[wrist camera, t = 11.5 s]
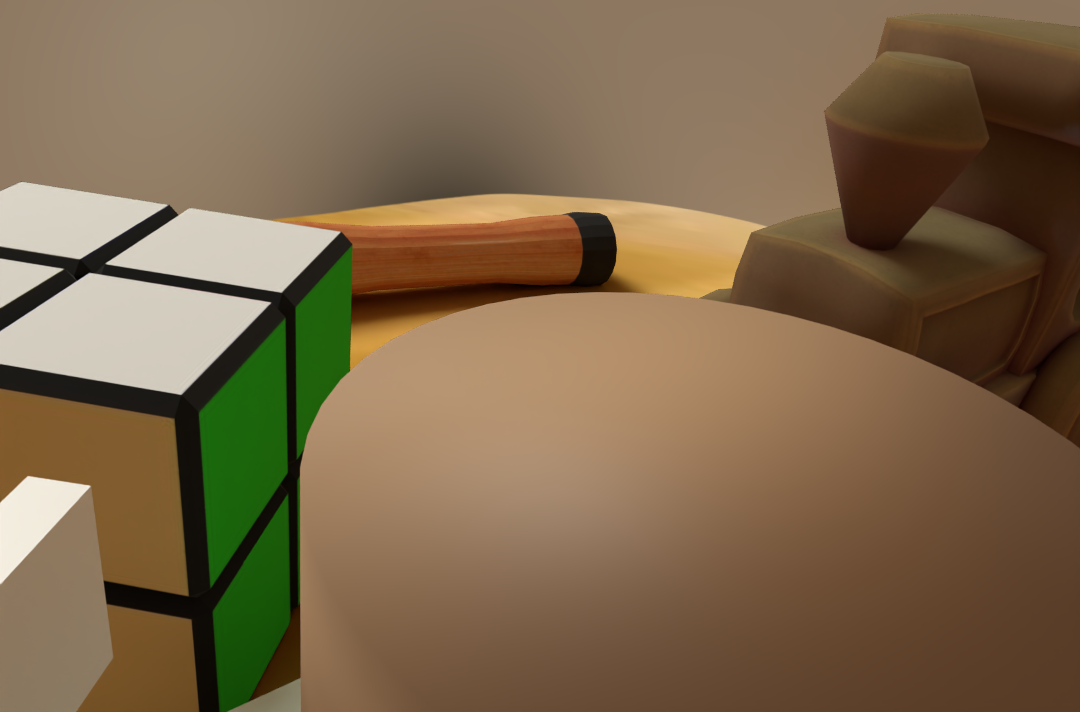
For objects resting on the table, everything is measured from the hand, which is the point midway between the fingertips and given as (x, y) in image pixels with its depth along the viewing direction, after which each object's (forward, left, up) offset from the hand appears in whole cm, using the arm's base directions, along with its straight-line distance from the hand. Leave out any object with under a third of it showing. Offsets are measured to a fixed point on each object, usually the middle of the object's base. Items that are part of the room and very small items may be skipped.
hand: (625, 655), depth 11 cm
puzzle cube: (-17, -1, -11) cm, 20 cm away
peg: (+2, -2, -11) cm, 12 cm away
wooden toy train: (-9, +25, -11) cm, 29 cm away
